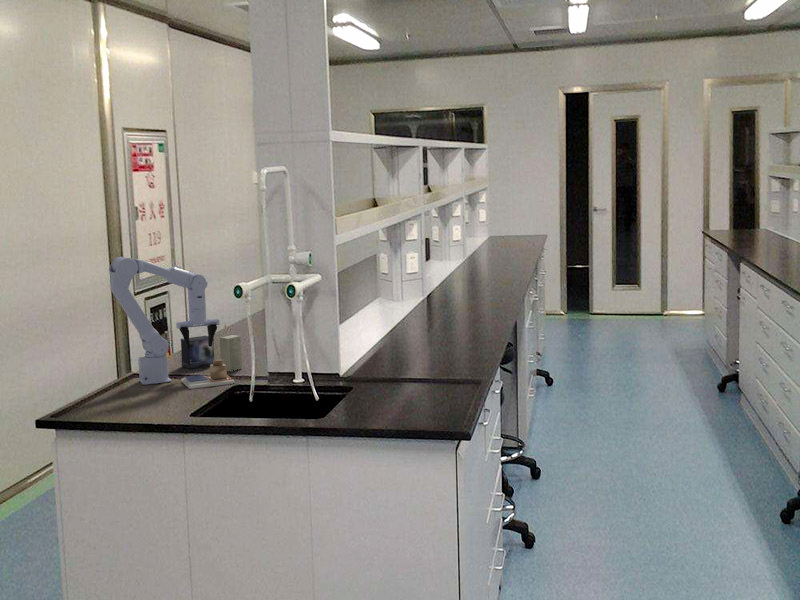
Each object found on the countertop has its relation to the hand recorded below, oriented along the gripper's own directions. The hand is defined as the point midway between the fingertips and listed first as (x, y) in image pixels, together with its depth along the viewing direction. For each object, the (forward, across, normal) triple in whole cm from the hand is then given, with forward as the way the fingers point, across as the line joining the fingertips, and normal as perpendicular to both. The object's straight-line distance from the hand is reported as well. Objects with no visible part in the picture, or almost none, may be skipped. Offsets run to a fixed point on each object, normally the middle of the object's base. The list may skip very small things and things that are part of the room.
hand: (199, 347), depth 298 cm
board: (+10, 0, -13) cm, 17 cm away
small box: (+10, +3, +16) cm, 19 cm away
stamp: (+9, +3, -13) cm, 16 cm away
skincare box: (+10, +12, +3) cm, 16 cm away
